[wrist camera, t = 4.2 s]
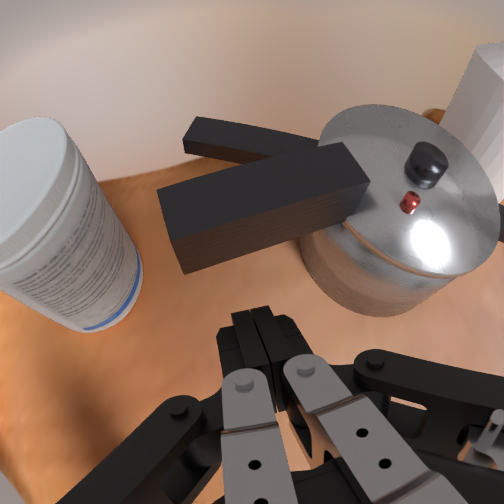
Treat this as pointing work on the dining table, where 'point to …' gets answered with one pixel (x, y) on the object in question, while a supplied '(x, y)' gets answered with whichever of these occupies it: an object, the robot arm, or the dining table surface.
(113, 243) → the supplement tub
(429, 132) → the lid
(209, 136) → the pot
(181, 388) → the dining table surface
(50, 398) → the dining table surface
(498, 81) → the bottle
